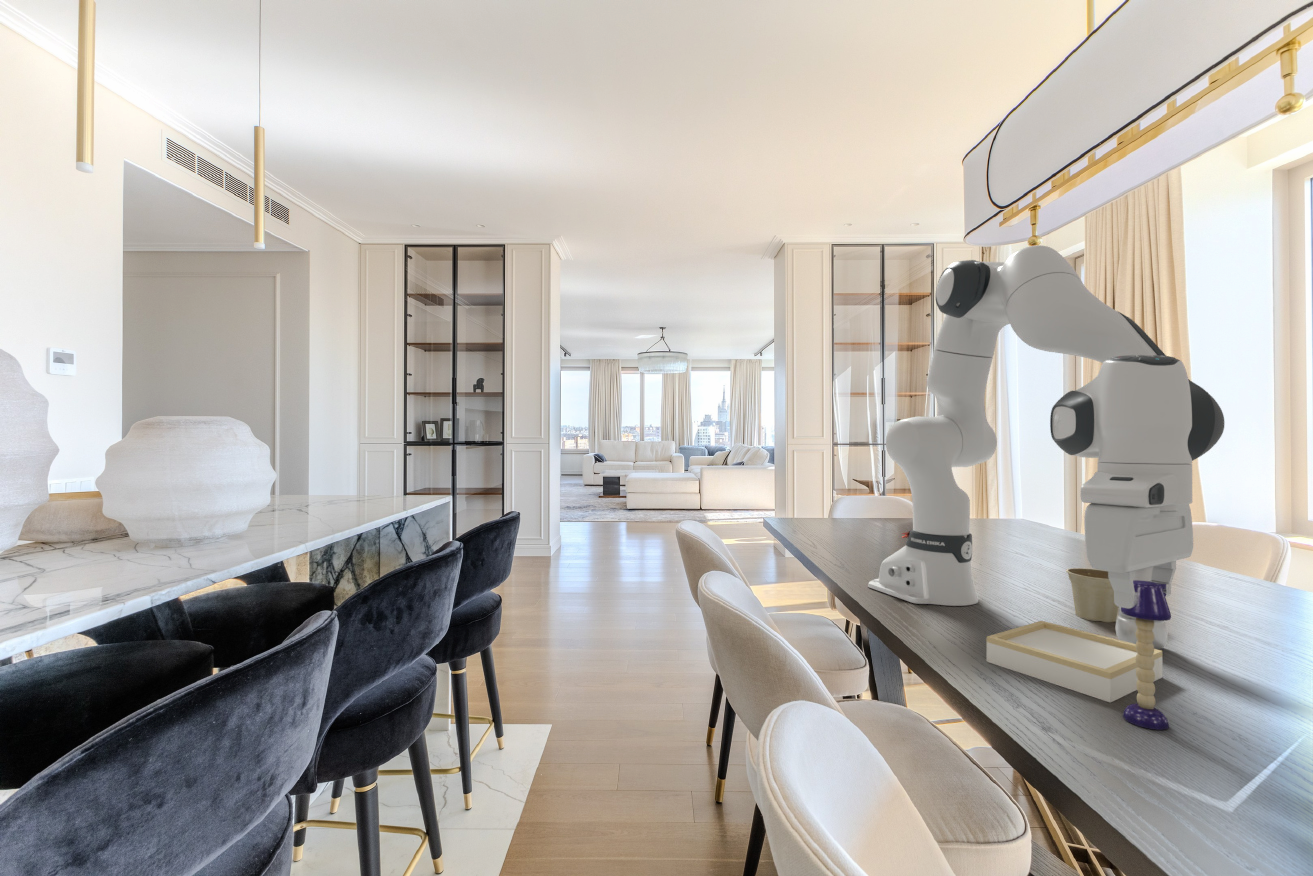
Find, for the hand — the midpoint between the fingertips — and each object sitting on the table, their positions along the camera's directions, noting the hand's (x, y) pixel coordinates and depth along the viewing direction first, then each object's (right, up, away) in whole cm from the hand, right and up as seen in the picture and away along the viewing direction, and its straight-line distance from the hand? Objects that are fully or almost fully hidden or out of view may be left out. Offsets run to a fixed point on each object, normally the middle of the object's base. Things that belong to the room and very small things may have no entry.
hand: (1143, 601), depth 70 cm
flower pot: (+25, -15, +40) cm, 50 cm away
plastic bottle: (+20, -15, +25) cm, 35 cm away
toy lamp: (0, -15, 0) cm, 15 cm away
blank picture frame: (+2, -14, +15) cm, 21 cm away
